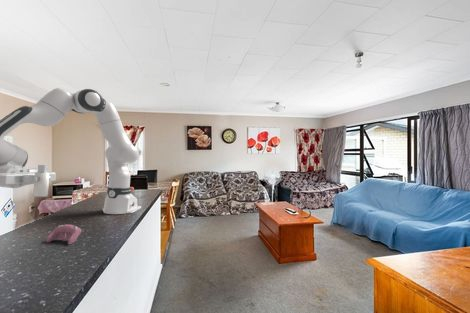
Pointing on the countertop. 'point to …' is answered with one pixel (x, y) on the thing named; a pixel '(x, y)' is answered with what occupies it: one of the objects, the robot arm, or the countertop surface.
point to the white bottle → (41, 181)
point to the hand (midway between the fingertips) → (43, 179)
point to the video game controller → (62, 231)
